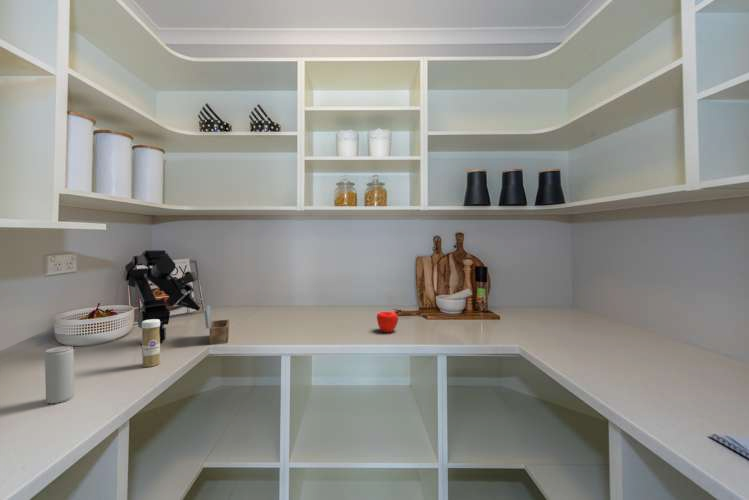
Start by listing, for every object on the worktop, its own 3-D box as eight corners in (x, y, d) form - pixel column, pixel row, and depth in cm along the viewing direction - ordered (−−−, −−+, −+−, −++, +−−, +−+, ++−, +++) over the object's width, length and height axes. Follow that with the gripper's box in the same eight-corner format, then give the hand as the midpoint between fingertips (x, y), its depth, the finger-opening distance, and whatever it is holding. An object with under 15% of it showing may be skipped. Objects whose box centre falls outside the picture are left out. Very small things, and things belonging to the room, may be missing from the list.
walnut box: (209, 344, 117) (209, 328, 117) (212, 335, 128) (212, 320, 128) (227, 342, 119) (227, 326, 119) (229, 334, 130) (228, 319, 130)
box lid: (208, 327, 116) (206, 328, 116) (211, 320, 128) (209, 320, 128) (206, 310, 116) (204, 310, 116) (209, 304, 128) (207, 304, 127)
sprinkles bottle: (146, 368, 94) (146, 322, 94) (139, 365, 97) (138, 321, 96) (163, 363, 98) (163, 319, 98) (155, 360, 101) (155, 318, 100)
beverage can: (80, 394, 78) (79, 345, 78) (61, 404, 73) (60, 352, 73) (59, 395, 78) (58, 345, 78) (39, 405, 73) (38, 352, 73)
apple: (399, 329, 139) (399, 311, 139) (395, 334, 131) (396, 315, 131) (379, 327, 141) (379, 309, 141) (374, 333, 133) (374, 314, 133)
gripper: (177, 266, 110) (214, 297, 114) (186, 263, 127) (217, 289, 131) (150, 290, 107) (188, 321, 111) (162, 284, 124) (195, 310, 129)
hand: (199, 309), depth 121 cm, fingers closed
